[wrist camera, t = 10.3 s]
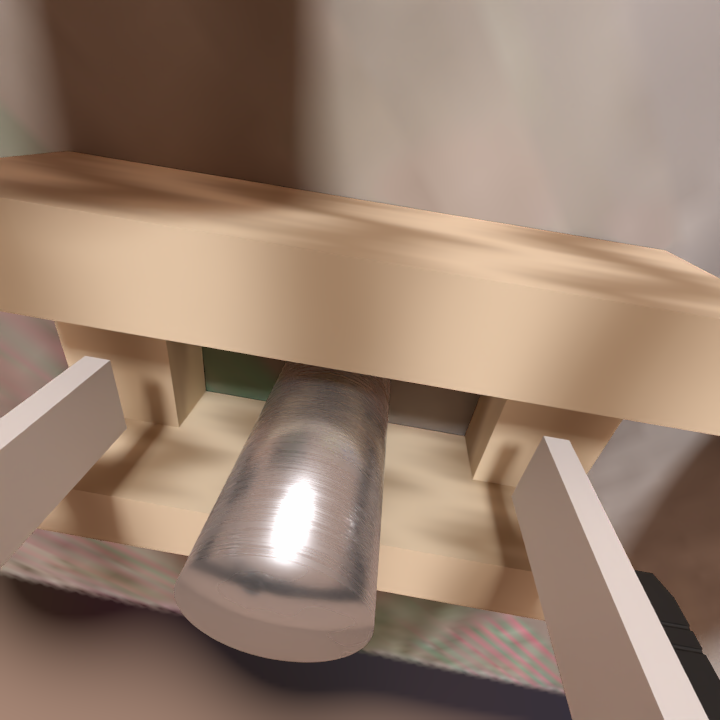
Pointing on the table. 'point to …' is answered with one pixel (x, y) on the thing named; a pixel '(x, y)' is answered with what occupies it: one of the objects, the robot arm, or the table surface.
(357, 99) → the table surface
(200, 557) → the pin
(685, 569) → the table surface
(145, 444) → the slot block
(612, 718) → the robot arm
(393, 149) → the table surface
